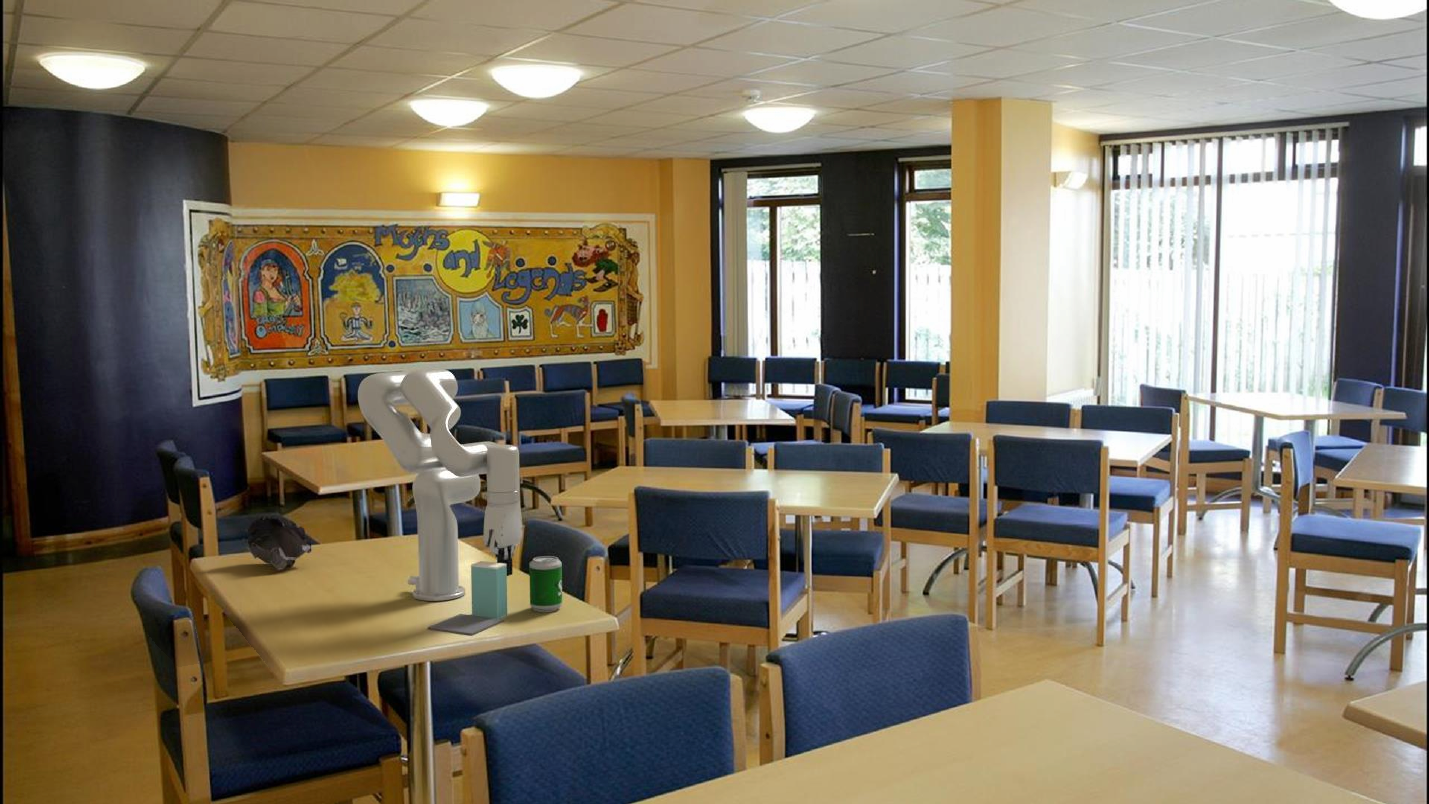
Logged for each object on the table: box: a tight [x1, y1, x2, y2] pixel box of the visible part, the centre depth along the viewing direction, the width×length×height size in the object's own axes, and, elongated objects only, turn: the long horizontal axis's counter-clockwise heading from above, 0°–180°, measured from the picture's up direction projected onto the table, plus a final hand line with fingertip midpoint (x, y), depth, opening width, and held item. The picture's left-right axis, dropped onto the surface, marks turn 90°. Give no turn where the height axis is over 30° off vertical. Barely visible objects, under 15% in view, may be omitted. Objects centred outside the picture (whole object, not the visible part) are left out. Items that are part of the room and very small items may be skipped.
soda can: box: [528, 555, 563, 613], centre depth 268 cm, size 8×8×12 cm
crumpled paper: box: [242, 514, 312, 572], centre depth 312 cm, size 14×15×20 cm
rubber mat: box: [427, 613, 505, 636], centre depth 255 cm, size 12×12×1 cm
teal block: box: [470, 560, 508, 619], centre depth 263 cm, size 7×4×12 cm, turn 66°
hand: (504, 574), depth 268 cm, fingers closed
